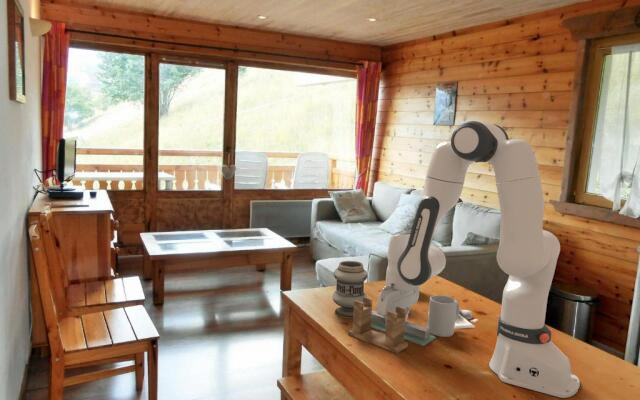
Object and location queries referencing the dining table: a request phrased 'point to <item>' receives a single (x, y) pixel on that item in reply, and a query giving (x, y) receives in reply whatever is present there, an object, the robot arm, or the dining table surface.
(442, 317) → the mug
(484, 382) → the dining table surface
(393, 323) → the rack
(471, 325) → the cloth
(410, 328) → the rail
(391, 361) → the dining table surface
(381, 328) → the mat
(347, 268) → the apothecary jar
